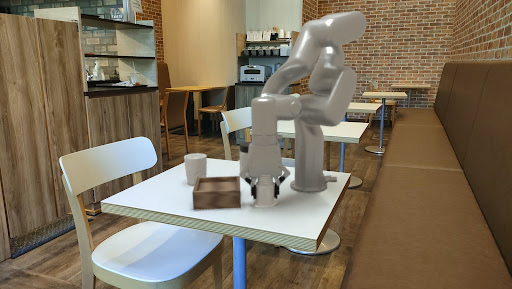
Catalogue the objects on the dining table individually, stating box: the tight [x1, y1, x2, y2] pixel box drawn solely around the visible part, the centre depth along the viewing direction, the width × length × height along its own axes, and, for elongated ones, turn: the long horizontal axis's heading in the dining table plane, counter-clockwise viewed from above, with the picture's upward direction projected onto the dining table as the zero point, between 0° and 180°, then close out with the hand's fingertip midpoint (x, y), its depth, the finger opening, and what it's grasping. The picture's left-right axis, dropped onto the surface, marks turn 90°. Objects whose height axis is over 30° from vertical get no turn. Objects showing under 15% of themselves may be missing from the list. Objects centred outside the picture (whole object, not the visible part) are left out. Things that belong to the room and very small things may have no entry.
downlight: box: [253, 175, 277, 209], centre depth 109 cm, size 8×7×10 cm
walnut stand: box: [191, 175, 242, 211], centre depth 112 cm, size 14×14×6 cm
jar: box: [238, 141, 252, 178], centre depth 138 cm, size 9×8×12 cm
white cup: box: [183, 152, 208, 187], centre depth 129 cm, size 8×8×10 cm
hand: (265, 196), depth 110 cm, fingers open, 5 cm apart
